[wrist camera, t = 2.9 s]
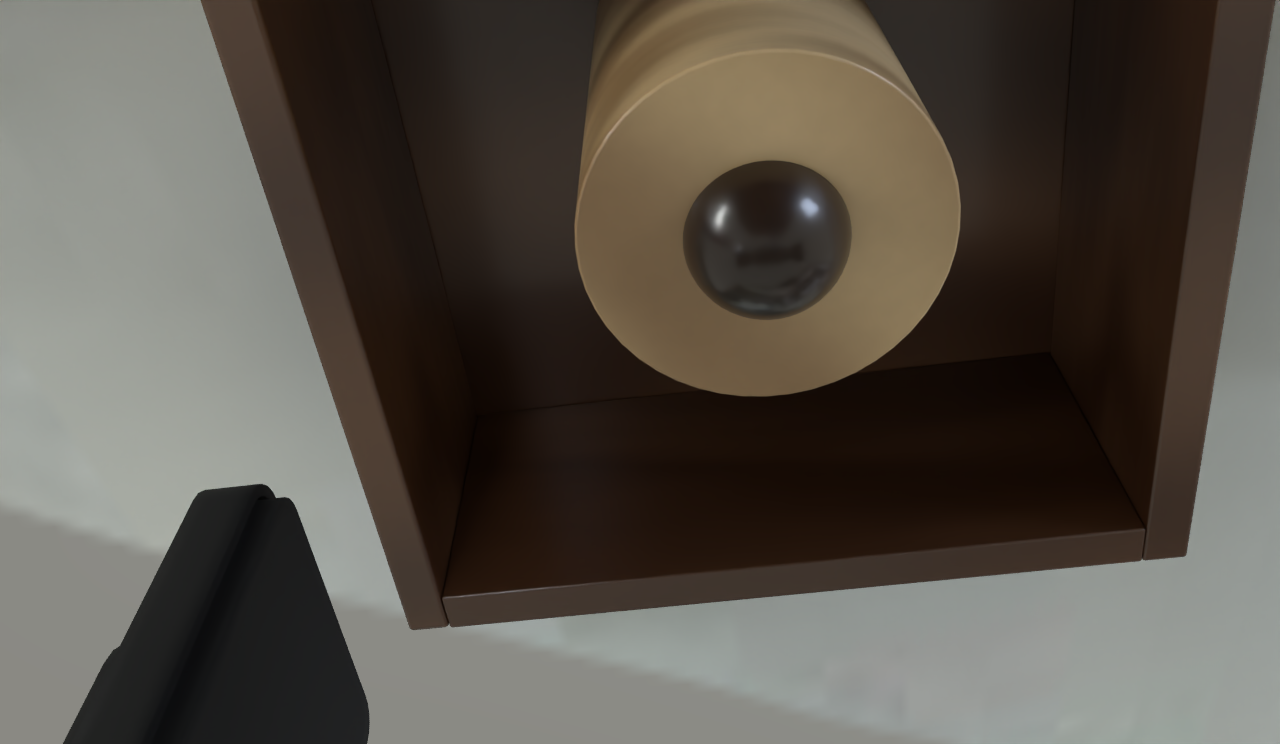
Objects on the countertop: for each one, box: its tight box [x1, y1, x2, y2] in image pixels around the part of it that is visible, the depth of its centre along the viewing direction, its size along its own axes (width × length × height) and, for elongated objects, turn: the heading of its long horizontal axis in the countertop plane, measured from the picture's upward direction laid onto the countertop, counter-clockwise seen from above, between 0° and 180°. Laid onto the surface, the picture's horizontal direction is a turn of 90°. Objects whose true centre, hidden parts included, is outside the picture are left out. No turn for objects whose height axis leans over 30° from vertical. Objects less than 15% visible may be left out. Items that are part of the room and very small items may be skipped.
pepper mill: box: [574, 0, 961, 396], centre depth 18 cm, size 5×5×10 cm
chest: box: [201, 0, 1275, 630], centre depth 20 cm, size 18×15×7 cm
